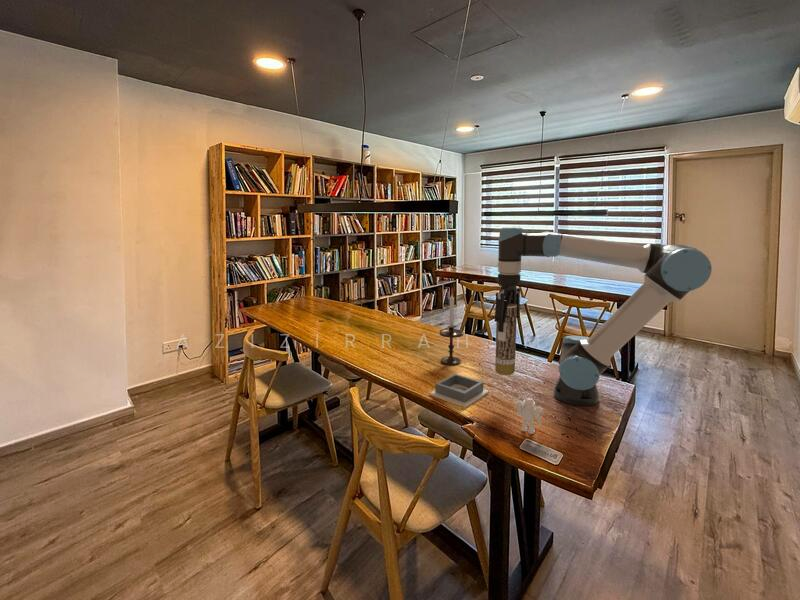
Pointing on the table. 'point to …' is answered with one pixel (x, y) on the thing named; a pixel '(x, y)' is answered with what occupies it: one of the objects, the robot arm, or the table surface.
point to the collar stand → (459, 390)
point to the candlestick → (451, 336)
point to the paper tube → (507, 344)
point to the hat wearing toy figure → (528, 413)
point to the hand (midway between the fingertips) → (506, 337)
